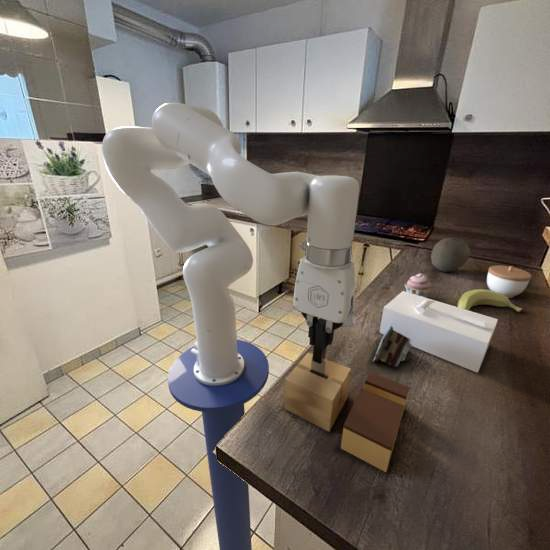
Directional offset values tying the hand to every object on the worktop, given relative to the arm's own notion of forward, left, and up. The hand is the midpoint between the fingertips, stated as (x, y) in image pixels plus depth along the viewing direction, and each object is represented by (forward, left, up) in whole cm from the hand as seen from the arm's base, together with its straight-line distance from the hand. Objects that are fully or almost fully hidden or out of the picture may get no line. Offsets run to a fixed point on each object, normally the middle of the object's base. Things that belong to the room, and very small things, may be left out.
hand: (320, 343), depth 56 cm
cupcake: (+10, +64, -16) cm, 67 cm away
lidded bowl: (+37, +86, -16) cm, 95 cm away
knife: (0, 0, -13) cm, 13 cm away
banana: (+32, +68, -16) cm, 77 cm away
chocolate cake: (+10, +25, -16) cm, 31 cm away
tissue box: (+18, +39, -16) cm, 46 cm away
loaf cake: (+12, -2, -15) cm, 20 cm away
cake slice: (+12, +7, -15) cm, 21 cm away
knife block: (0, 0, -15) cm, 15 cm away
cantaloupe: (+17, +100, -8) cm, 102 cm away
